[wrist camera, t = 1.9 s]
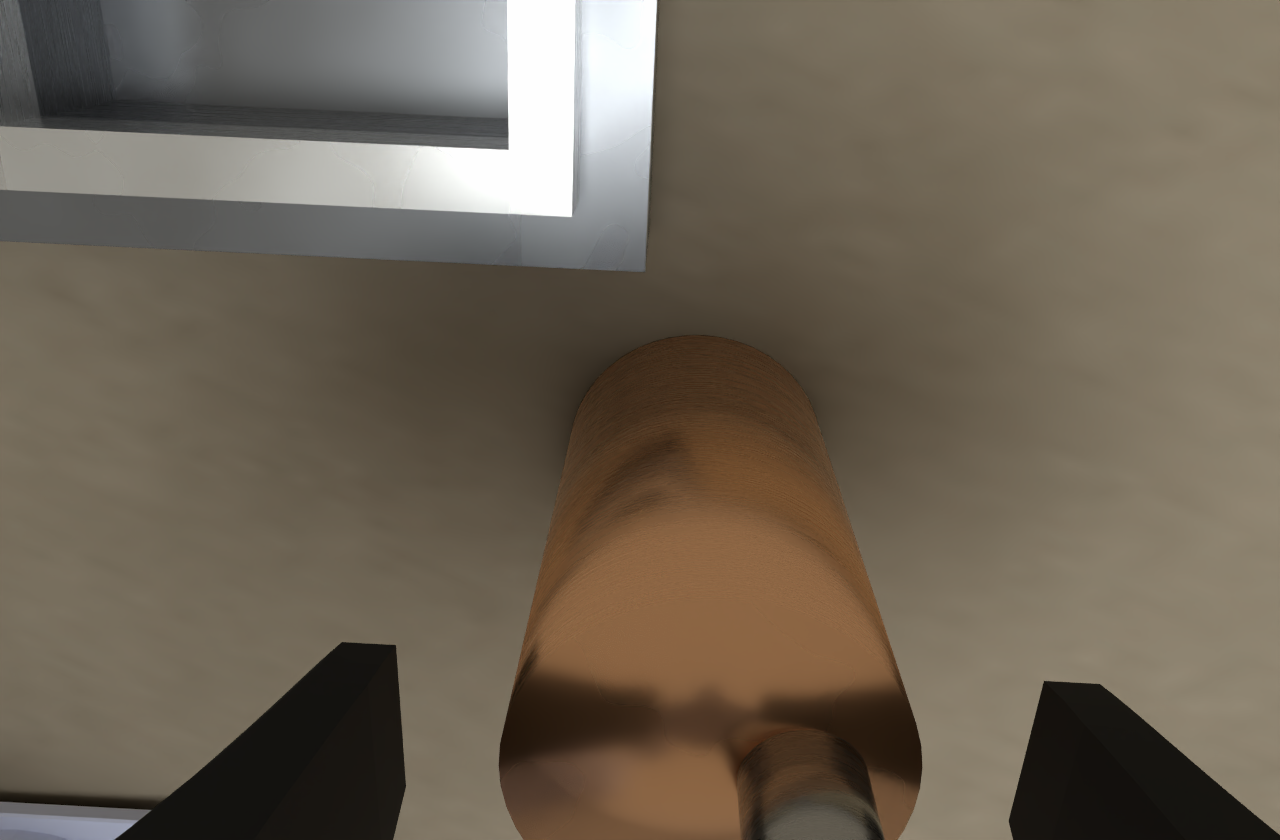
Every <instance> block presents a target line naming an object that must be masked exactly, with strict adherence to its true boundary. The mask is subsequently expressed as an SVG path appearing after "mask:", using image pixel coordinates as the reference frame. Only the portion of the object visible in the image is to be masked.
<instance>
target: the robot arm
mask: <svg viewBox="0 0 1280 840" xmlns="http://www.w3.org/2000/svg"><path fill="white" fill-rule="evenodd" d="M405 788H406V781H405V767H404V753H403V739H402V725H401V711H400V697H399V682H398V668H397V654H396V645H383V644H364V643H346V642H342V643H341V644H339V645H338V646H337V647H336V648H335V649H333V650H332V651H331V652H330V653H329V654H328V655H327V656H326V657H325V658H323V659H322V660H321V661H320V662H319V663H318V664H317V665H316V666H315V667H314V668H313V669H311V670H310V671H309V672H308V673H307V674H306V675H305V676H304V677H303V678H302V679H301V680H300V681H299V682H298V683H296V684H295V685H294V686H293V687H292V688H291V689H290V690H289V691H288V692H287V693H286V694H285V695H284V696H283V697H282V698H280V699H279V700H278V701H277V702H276V703H275V704H274V705H273V706H272V707H271V708H270V709H269V710H267V711H266V712H265V713H264V714H263V715H262V716H261V717H260V718H259V719H258V720H257V721H255V722H254V723H253V724H252V725H251V726H250V727H249V728H248V729H247V730H245V731H244V732H243V733H242V734H241V735H240V736H239V737H237V738H236V739H235V740H234V741H233V742H232V743H231V744H230V745H228V746H227V747H226V748H225V749H224V750H223V751H222V752H221V753H219V754H218V755H217V756H216V757H215V758H214V759H213V760H211V761H210V762H209V763H208V764H207V765H206V766H205V767H203V768H202V769H201V770H200V771H199V772H198V773H196V774H195V775H194V776H193V777H192V778H191V779H189V780H188V781H187V782H186V783H184V784H183V785H182V786H181V787H179V788H178V789H177V790H176V791H175V792H173V793H172V794H171V795H170V796H168V797H167V798H166V799H165V800H163V801H162V802H161V803H160V804H158V805H157V806H156V807H155V808H154V809H152V810H142V809H124V808H106V807H88V806H70V805H52V804H33V803H15V802H0V840H393V838H394V834H395V830H396V825H397V821H398V817H399V813H400V809H401V804H402V800H403V796H404V792H405ZM1009 824H1010V828H1011V832H1012V836H1013V840H1280V835H1279V834H1278V833H1276V832H1275V831H1274V830H1273V829H1271V828H1270V827H1269V826H1268V825H1267V824H1265V823H1264V822H1263V821H1262V820H1261V819H1259V818H1258V817H1257V816H1256V815H1254V814H1253V813H1252V812H1251V811H1250V810H1248V809H1247V808H1246V807H1245V806H1244V805H1243V804H1241V803H1240V802H1239V801H1238V800H1237V799H1235V798H1234V797H1233V796H1232V795H1231V794H1229V793H1228V792H1227V791H1226V790H1225V789H1223V788H1222V787H1221V786H1220V785H1219V784H1218V783H1216V782H1215V781H1214V780H1213V779H1212V778H1211V777H1209V776H1208V775H1207V774H1206V773H1205V772H1204V771H1202V770H1201V769H1200V768H1199V767H1198V766H1197V765H1195V764H1194V763H1193V762H1192V761H1191V760H1190V759H1188V758H1187V757H1186V756H1185V755H1184V754H1183V753H1181V752H1180V751H1179V750H1178V749H1177V748H1176V747H1175V746H1173V745H1172V744H1171V743H1170V742H1169V741H1168V740H1166V739H1165V738H1164V737H1163V736H1162V735H1161V734H1159V733H1158V732H1157V731H1156V730H1155V729H1154V728H1152V727H1151V726H1150V725H1149V724H1148V723H1147V722H1145V721H1144V720H1143V719H1142V718H1141V717H1140V716H1138V715H1137V714H1136V713H1135V712H1134V711H1133V710H1131V709H1130V708H1129V707H1128V706H1127V705H1125V704H1124V703H1123V702H1122V701H1121V700H1119V699H1118V698H1117V697H1116V696H1114V695H1113V694H1112V693H1111V692H1109V691H1108V690H1107V689H1105V688H1104V687H1103V686H1102V685H1100V684H1088V683H1070V682H1052V681H1044V684H1043V687H1042V691H1041V695H1040V699H1039V703H1038V707H1037V711H1036V715H1035V719H1034V723H1033V727H1032V731H1031V735H1030V739H1029V743H1028V747H1027V751H1026V755H1025V759H1024V762H1023V766H1022V770H1021V774H1020V778H1019V782H1018V786H1017V790H1016V794H1015V798H1014V802H1013V806H1012V810H1011V814H1010V818H1009Z"/></svg>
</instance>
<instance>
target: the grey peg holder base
mask: <svg viewBox="0 0 1280 840" xmlns="http://www.w3.org/2000/svg"><path fill="white" fill-rule="evenodd" d="M658 22H659V0H0V241H11V242H32V243H53V244H73V245H94V246H115V247H136V248H156V249H177V250H198V251H219V252H239V253H260V254H281V255H301V256H322V257H343V258H364V259H384V260H405V261H426V262H447V263H467V264H488V265H509V266H530V267H550V268H571V269H592V270H612V271H633V272H645V267H646V257H647V247H648V238H649V223H650V200H651V178H652V156H653V134H654V111H655V89H656V67H657V44H658Z"/></svg>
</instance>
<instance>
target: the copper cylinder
mask: <svg viewBox="0 0 1280 840" xmlns="http://www.w3.org/2000/svg"><path fill="white" fill-rule="evenodd" d="M499 772H500V782H501V788H502V792H503V796H504V799H505V803H506V807H507V809H508V811H509V813H510V816H511V818H512V820H513V822H514V825H515V827H516V828H517V830H518V831H519V833H520V834H521V836H522V838H523V839H524V840H898V838H899V837H900V835H901V834H902V832H903V831H904V829H905V827H906V825H907V823H908V821H909V818H910V816H911V814H912V812H913V810H914V807H915V803H916V800H917V796H918V793H919V790H920V783H921V774H922V753H921V743H920V738H919V734H918V730H917V725H916V722H915V719H914V716H913V713H912V710H911V707H910V703H909V700H908V697H907V694H906V691H905V688H904V685H903V682H902V679H901V676H900V673H899V670H898V667H897V664H896V661H895V658H894V655H893V651H892V648H891V645H890V642H889V639H888V636H887V633H886V630H885V627H884V624H883V621H882V618H881V615H880V612H879V609H878V606H877V603H876V599H875V596H874V593H873V590H872V587H871V584H870V581H869V578H868V575H867V572H866V569H865V566H864V563H863V560H862V557H861V554H860V551H859V548H858V544H857V541H856V538H855V535H854V532H853V529H852V526H851V523H850V520H849V517H848V514H847V511H846V508H845V505H844V502H843V499H842V496H841V492H840V489H839V486H838V483H837V480H836V477H835V474H834V471H833V468H832V465H831V462H830V459H829V456H828V453H827V450H826V447H825V444H824V440H823V437H822V434H821V431H820V428H819V425H818V422H817V419H816V416H815V414H814V411H813V409H812V406H811V404H810V401H809V400H808V398H807V396H806V394H805V393H804V391H803V389H802V388H801V387H800V385H799V384H798V383H797V382H796V380H795V379H794V378H793V376H792V375H791V374H790V373H788V372H787V371H786V370H785V369H784V368H783V367H782V366H781V365H780V364H779V363H777V362H776V361H774V360H773V359H772V358H770V357H769V356H768V355H766V354H764V353H762V352H760V351H758V350H757V349H755V348H753V347H750V346H748V345H745V344H743V343H740V342H737V341H734V340H729V339H725V338H721V337H713V336H704V335H690V336H679V337H672V338H667V339H663V340H659V341H655V342H652V343H649V344H647V345H645V346H642V347H640V348H637V349H635V350H633V351H632V352H630V353H628V354H626V355H625V356H623V357H621V358H620V359H619V360H617V361H616V362H615V363H613V364H612V365H611V366H609V367H608V368H607V369H606V370H605V371H604V372H603V373H602V374H601V375H600V376H599V377H598V378H597V380H596V381H595V382H594V383H593V385H592V386H591V387H590V389H589V390H588V392H587V393H586V395H585V397H584V399H583V400H582V402H581V404H580V406H579V409H578V411H577V414H576V417H575V420H574V424H573V428H572V432H571V437H570V441H569V445H568V450H567V454H566V459H565V463H564V467H563V472H562V476H561V480H560V485H559V489H558V494H557V498H556V502H555V507H554V511H553V515H552V520H551V524H550V528H549V533H548V537H547V542H546V546H545V550H544V555H543V559H542V563H541V568H540V572H539V577H538V581H537V585H536V590H535V594H534V598H533V603H532V607H531V611H530V616H529V620H528V625H527V629H526V633H525V638H524V642H523V646H522V651H521V655H520V659H519V664H518V668H517V673H516V677H515V681H514V686H513V690H512V694H511V699H510V703H509V708H508V712H507V716H506V721H505V725H504V729H503V734H502V738H501V742H500V754H499Z"/></svg>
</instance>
